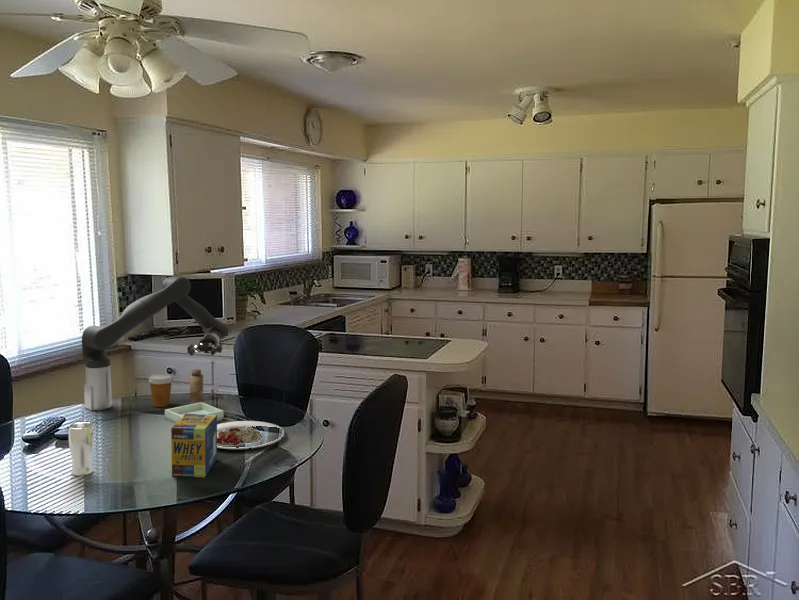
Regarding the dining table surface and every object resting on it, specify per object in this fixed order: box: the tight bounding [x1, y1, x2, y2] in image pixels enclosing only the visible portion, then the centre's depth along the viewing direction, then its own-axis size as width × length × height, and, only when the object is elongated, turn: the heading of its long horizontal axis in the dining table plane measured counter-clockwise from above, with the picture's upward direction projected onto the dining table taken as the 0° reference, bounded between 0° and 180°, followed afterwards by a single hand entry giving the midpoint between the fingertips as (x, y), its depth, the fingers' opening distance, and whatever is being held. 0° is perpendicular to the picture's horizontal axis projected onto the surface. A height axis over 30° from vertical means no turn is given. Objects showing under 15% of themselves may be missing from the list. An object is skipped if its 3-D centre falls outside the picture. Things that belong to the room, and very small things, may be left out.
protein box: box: [170, 414, 218, 478], centre depth 215 cm, size 10×15×16 cm
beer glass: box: [68, 421, 95, 477], centre depth 209 cm, size 7×7×15 cm
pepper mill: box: [189, 369, 204, 405], centre depth 282 cm, size 5×5×15 cm
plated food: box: [217, 420, 285, 450], centre depth 245 cm, size 30×30×3 cm
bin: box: [164, 401, 224, 424], centre depth 265 cm, size 16×16×4 cm
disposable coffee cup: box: [148, 373, 174, 408], centre depth 282 cm, size 10×10×12 cm
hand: (201, 353), depth 289 cm, fingers open, 8 cm apart
